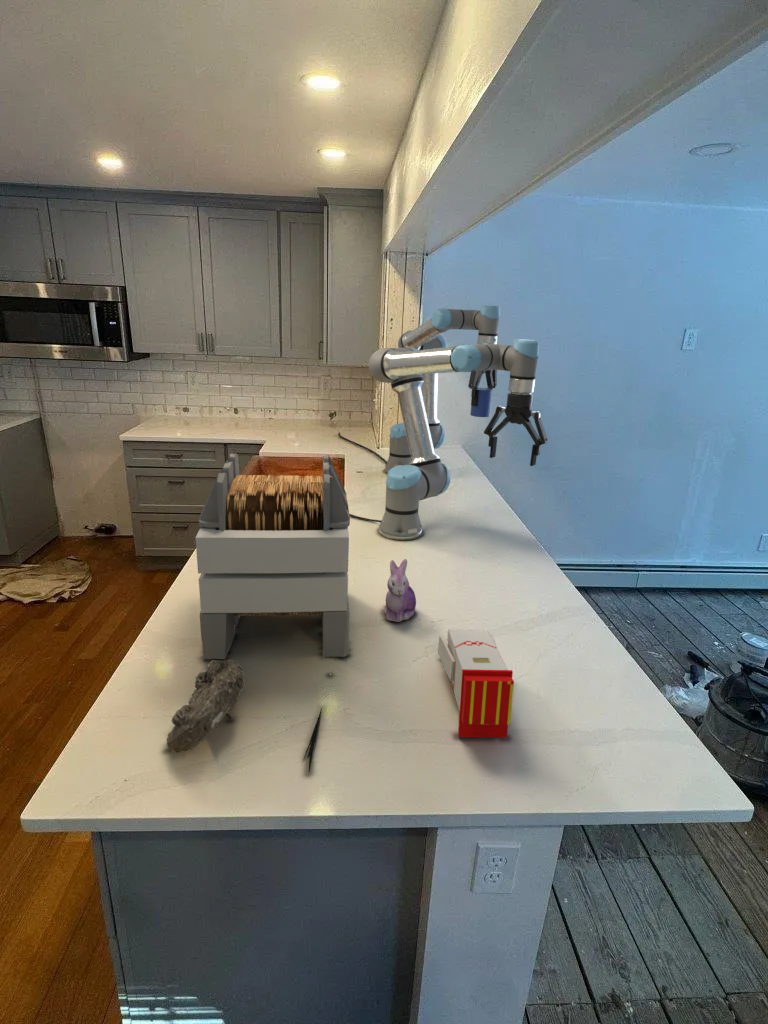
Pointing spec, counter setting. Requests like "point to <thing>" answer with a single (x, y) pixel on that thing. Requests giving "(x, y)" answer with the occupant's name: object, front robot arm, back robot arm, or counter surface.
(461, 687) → the toy
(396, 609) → the figurine
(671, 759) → the counter surface
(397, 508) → the front robot arm
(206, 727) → the fossil
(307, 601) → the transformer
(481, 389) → the cylinder
